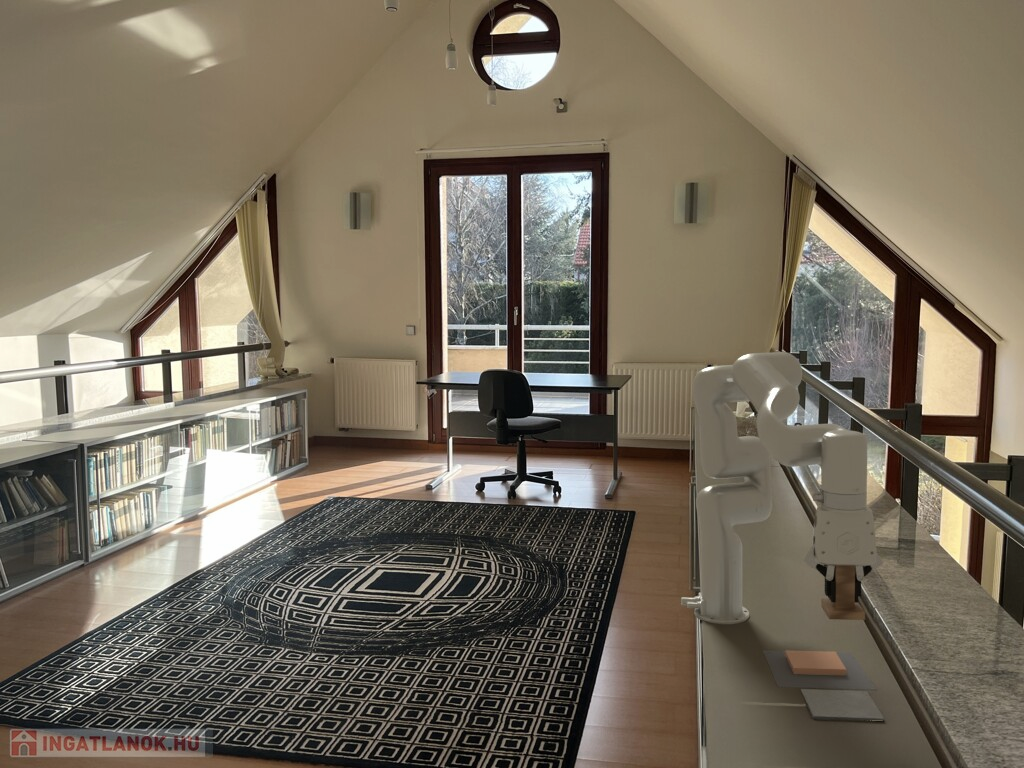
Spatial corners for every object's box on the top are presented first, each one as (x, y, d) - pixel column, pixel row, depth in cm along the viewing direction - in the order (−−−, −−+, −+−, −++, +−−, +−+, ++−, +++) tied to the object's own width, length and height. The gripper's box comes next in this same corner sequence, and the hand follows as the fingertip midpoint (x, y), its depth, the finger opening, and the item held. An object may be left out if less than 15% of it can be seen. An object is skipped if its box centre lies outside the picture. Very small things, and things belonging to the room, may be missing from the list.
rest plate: (813, 719, 143) (813, 716, 143) (800, 692, 153) (800, 689, 153) (884, 721, 142) (884, 718, 142) (866, 694, 152) (866, 691, 151)
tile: (785, 656, 167) (793, 674, 159) (785, 650, 167) (793, 667, 159) (835, 658, 166) (846, 676, 158) (835, 651, 166) (846, 669, 158)
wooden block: (829, 619, 143) (830, 561, 142) (821, 606, 149) (821, 551, 148) (864, 620, 142) (865, 562, 141) (855, 607, 148) (856, 551, 147)
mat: (777, 688, 155) (777, 686, 155) (762, 652, 170) (762, 650, 170) (876, 691, 152) (876, 689, 152) (851, 654, 168) (851, 652, 168)
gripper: (800, 505, 141) (800, 606, 143) (899, 505, 139) (897, 608, 140) (791, 495, 148) (791, 591, 150) (885, 495, 146) (883, 593, 148)
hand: (842, 598), depth 145 cm, fingers closed on wooden block, 3 cm apart
